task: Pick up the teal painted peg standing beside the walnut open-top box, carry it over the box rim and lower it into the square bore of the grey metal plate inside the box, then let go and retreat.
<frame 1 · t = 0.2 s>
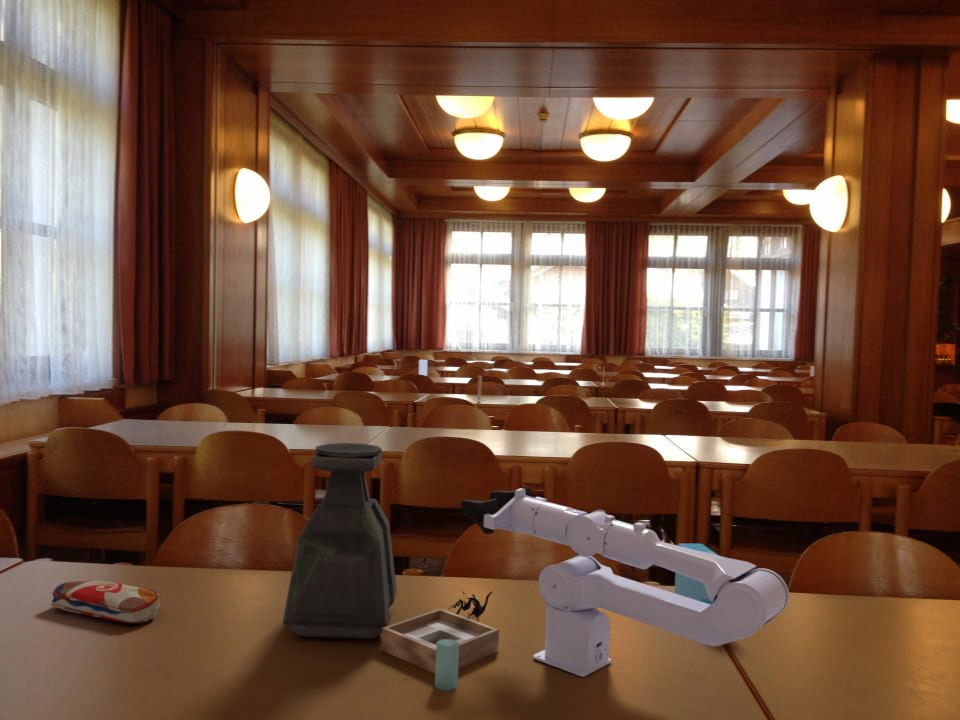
hand: (477, 502, 134), 21 cm above the table, tool horizontal, fingers open, 7 cm apart
peg: (446, 685, 112), on the table
data package: (697, 616, 145), on the table
creature: (465, 618, 140), on the table
box: (439, 650, 124), on the table
dark faceted flask: (342, 625, 134), on the table
pencil case: (105, 616, 135), on the table
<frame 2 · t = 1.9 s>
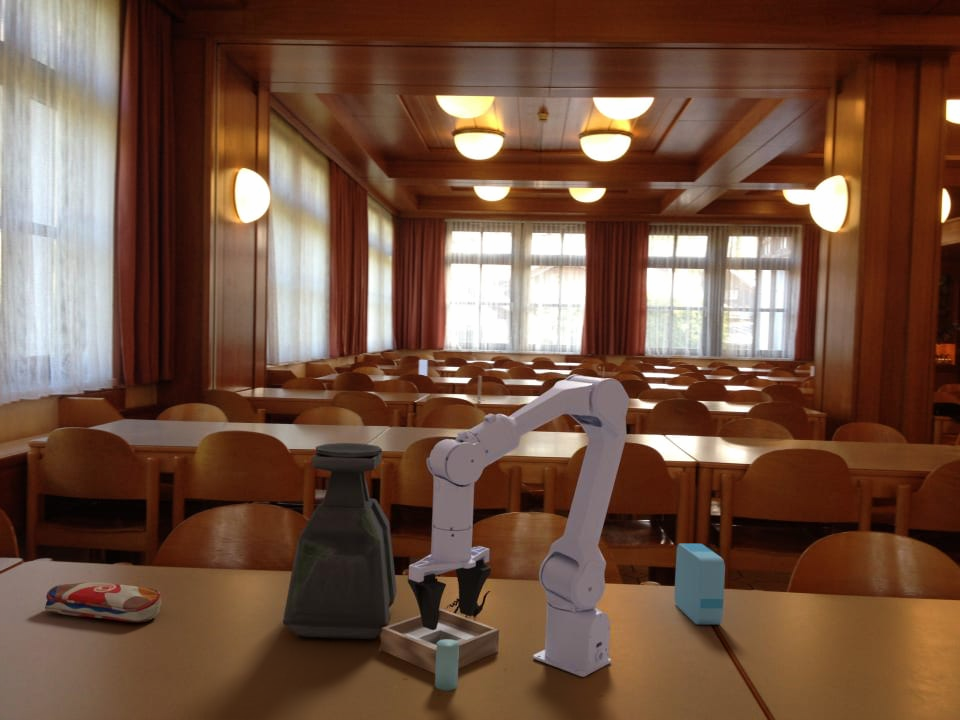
hand: (448, 620, 112), 9 cm above the table, tool pointing down, fingers open, 7 cm apart
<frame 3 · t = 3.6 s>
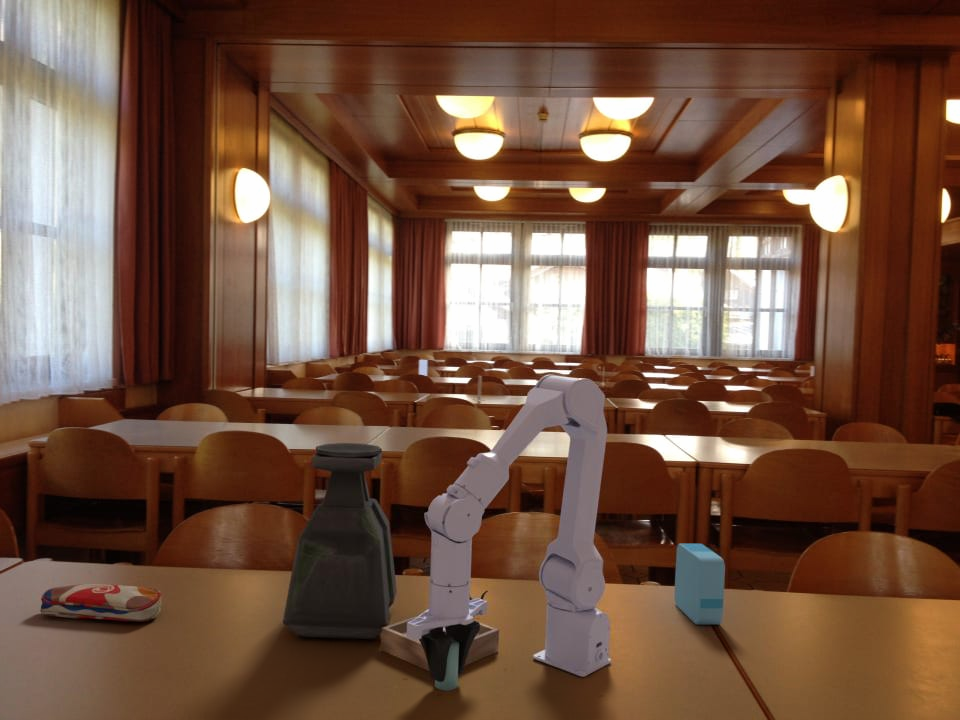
hand: (446, 675, 112), 1 cm above the table, tool pointing down, fingers closed on peg, 3 cm apart
peg: (446, 685, 112), on the table, touching gripper
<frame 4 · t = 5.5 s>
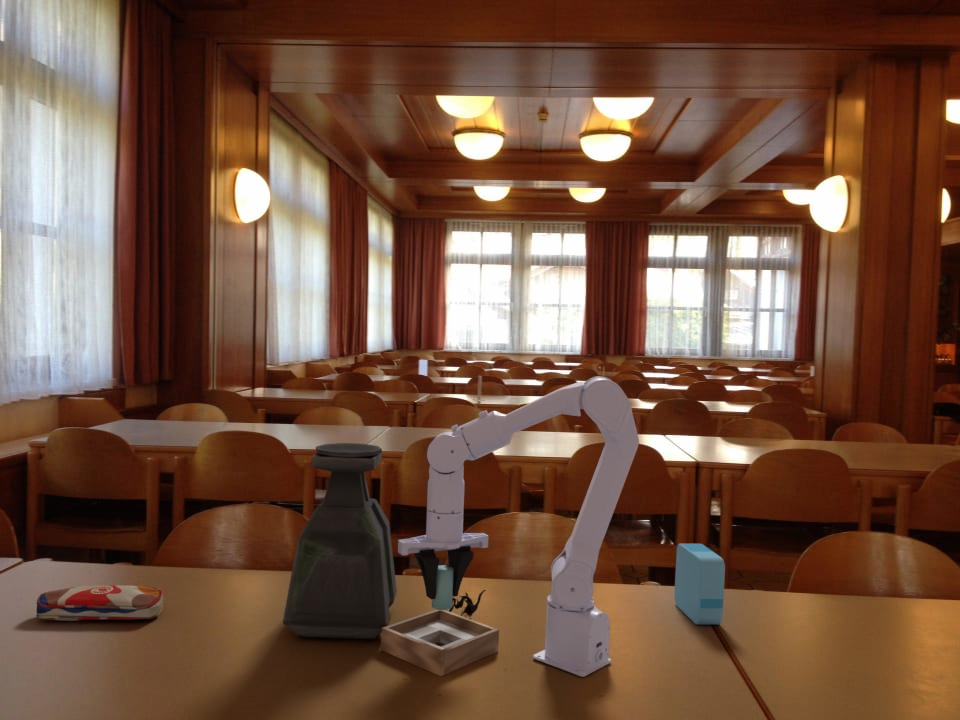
hand: (441, 595, 124), 9 cm above the table, tool pointing down, fingers closed on peg, 3 cm apart
peg: (441, 606, 124), point 7 cm above the table, touching gripper
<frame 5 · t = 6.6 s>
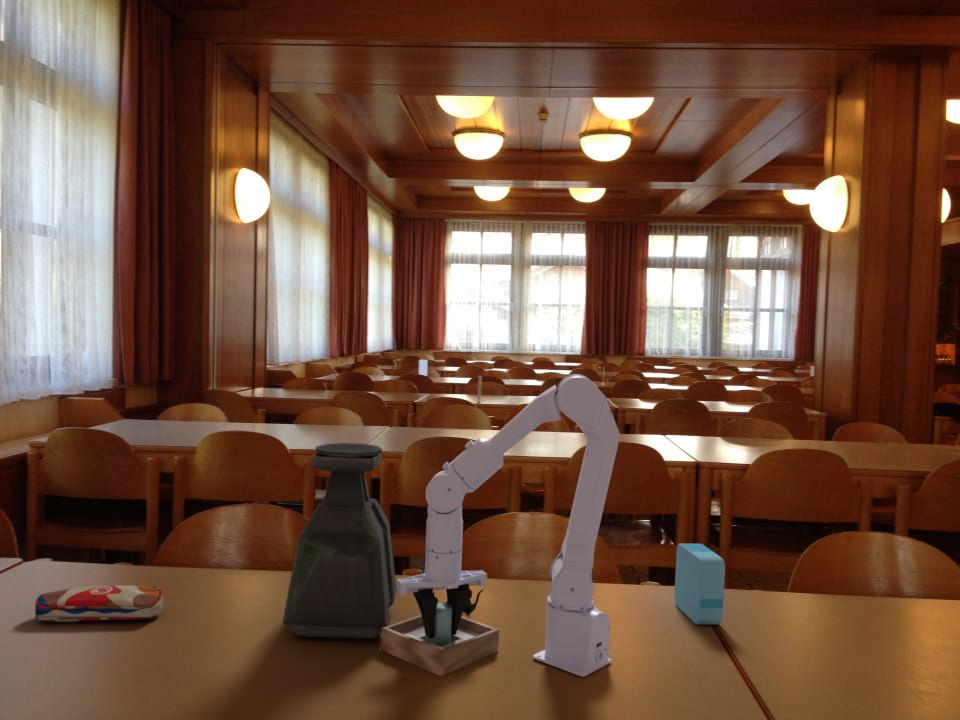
hand: (440, 634, 124), 3 cm above the table, tool pointing down, fingers closed on peg, 3 cm apart
peg: (440, 644, 124), point 1 cm above the table, touching gripper
when the fingers open (3 cm above the table, at t = 7.2 s): peg drops 1 cm, resting in box.
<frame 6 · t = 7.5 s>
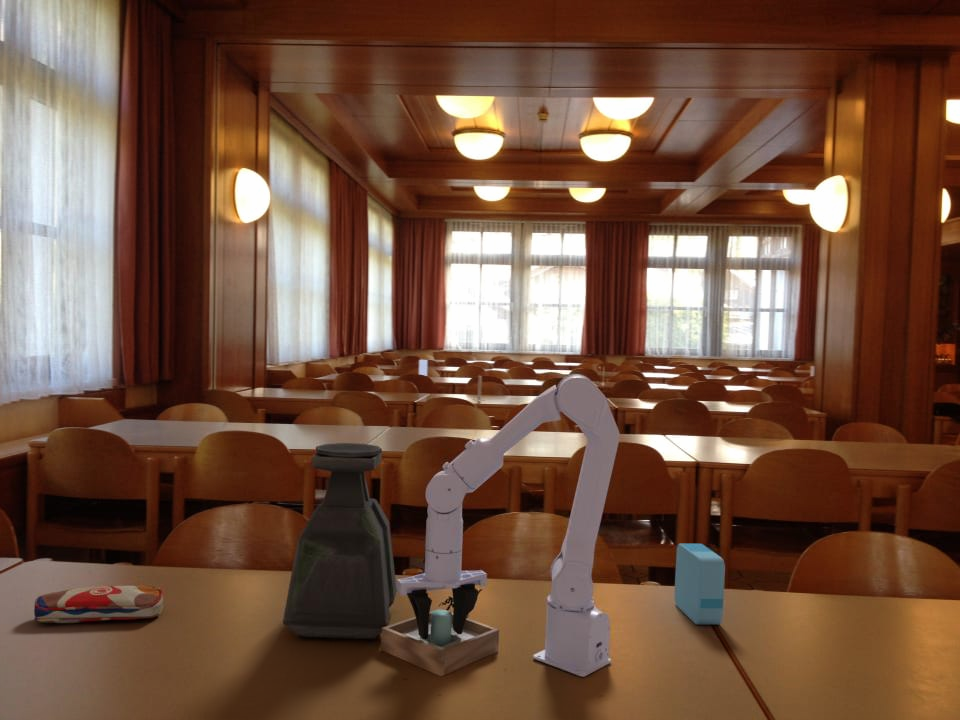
hand: (440, 634, 124), 3 cm above the table, tool pointing down, fingers open, 5 cm apart
peg: (440, 651, 124), resting in box
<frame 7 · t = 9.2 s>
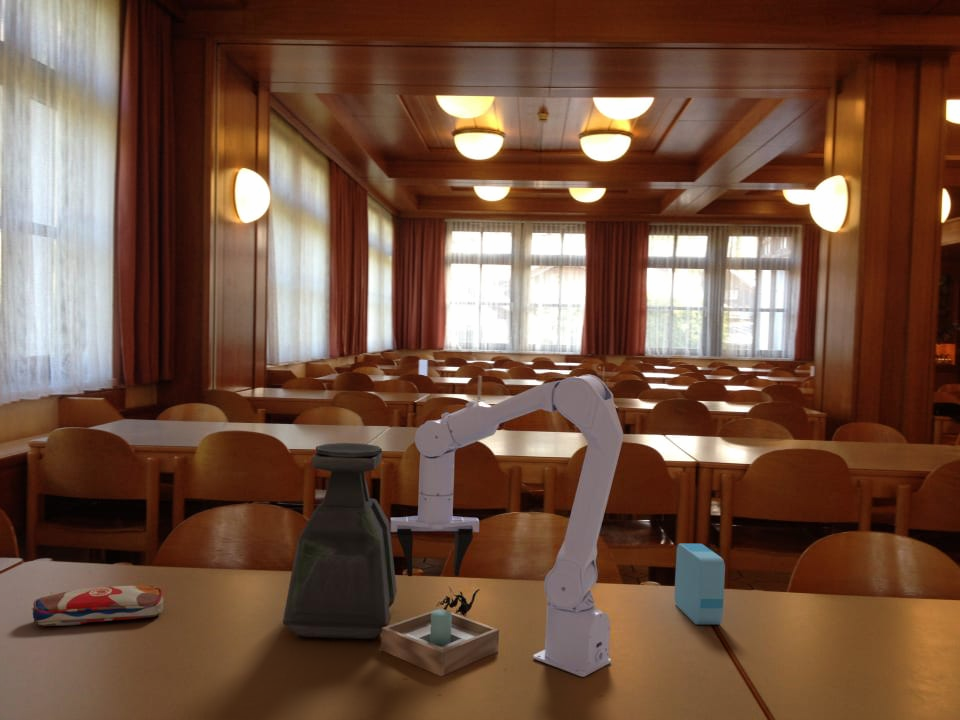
hand: (432, 574, 131), 10 cm above the table, tool pointing down, fingers open, 7 cm apart
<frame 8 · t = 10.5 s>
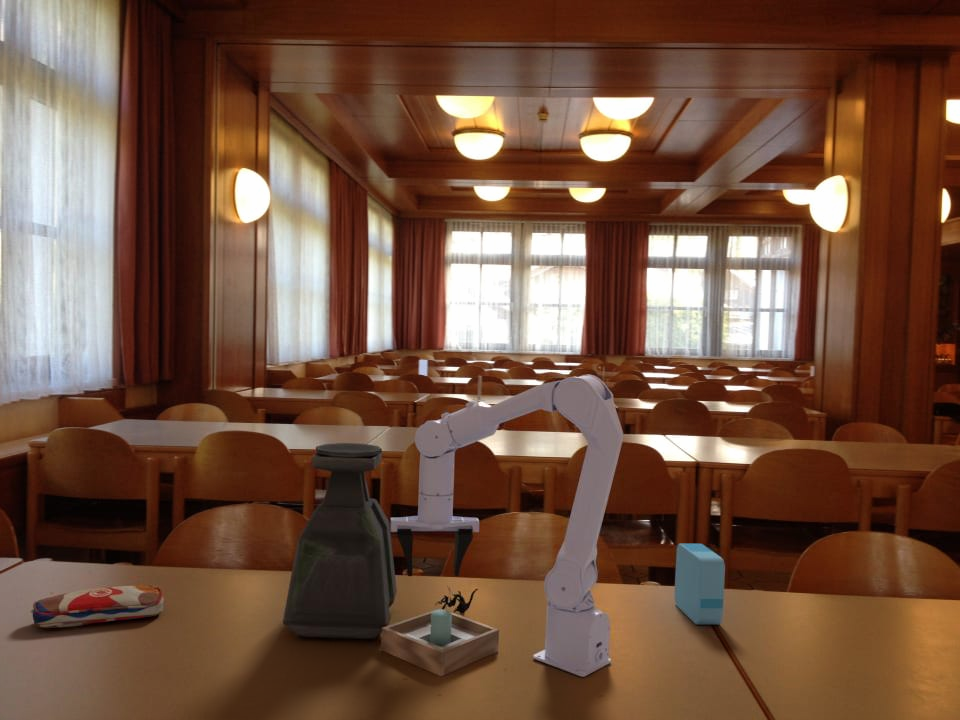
hand: (432, 574, 131), 10 cm above the table, tool pointing down, fingers open, 7 cm apart
at the end: peg 0.1 cm off-centre on the box, point 0.0 cm above the box's base; peg tilted 0°; the gripper is holding nothing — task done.
